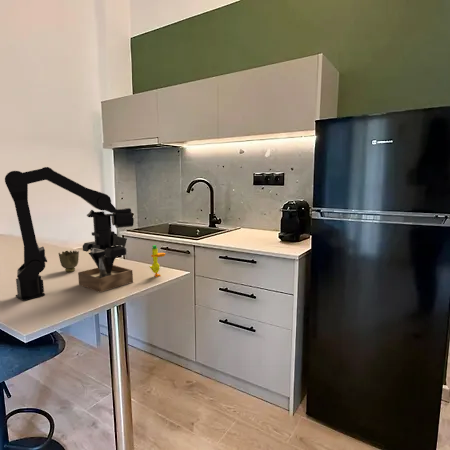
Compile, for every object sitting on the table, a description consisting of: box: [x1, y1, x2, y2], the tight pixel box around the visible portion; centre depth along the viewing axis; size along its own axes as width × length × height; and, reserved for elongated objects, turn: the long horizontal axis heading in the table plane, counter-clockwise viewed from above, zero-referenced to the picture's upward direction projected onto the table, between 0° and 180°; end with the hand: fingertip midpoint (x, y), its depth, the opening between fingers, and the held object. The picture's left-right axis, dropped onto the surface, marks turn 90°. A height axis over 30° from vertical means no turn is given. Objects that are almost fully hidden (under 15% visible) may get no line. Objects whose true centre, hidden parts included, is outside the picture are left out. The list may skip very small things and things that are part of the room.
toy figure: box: [148, 245, 167, 278], centre depth 125 cm, size 7×4×12 cm, turn 119°
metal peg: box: [99, 257, 112, 278], centre depth 117 cm, size 4×4×8 cm
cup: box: [58, 250, 80, 273], centre depth 133 cm, size 8×7×8 cm
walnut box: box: [77, 264, 134, 293], centre depth 117 cm, size 13×13×4 cm
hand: (105, 272), depth 117 cm, fingers closed on metal peg, 4 cm apart
